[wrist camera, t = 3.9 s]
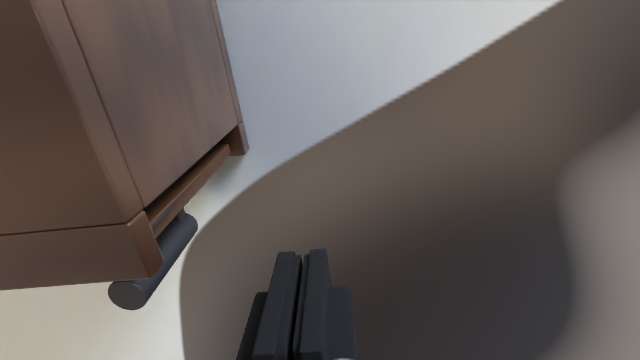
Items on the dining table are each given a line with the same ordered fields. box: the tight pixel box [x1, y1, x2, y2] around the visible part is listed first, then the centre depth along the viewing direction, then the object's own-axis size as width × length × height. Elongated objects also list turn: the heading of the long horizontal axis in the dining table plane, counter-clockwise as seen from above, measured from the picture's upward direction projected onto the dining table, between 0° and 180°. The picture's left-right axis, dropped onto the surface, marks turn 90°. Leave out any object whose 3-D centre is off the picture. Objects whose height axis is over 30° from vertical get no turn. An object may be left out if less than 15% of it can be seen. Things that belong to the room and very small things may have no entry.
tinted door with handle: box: [108, 144, 231, 310], centre depth 15 cm, size 4×8×9 cm, turn 97°
